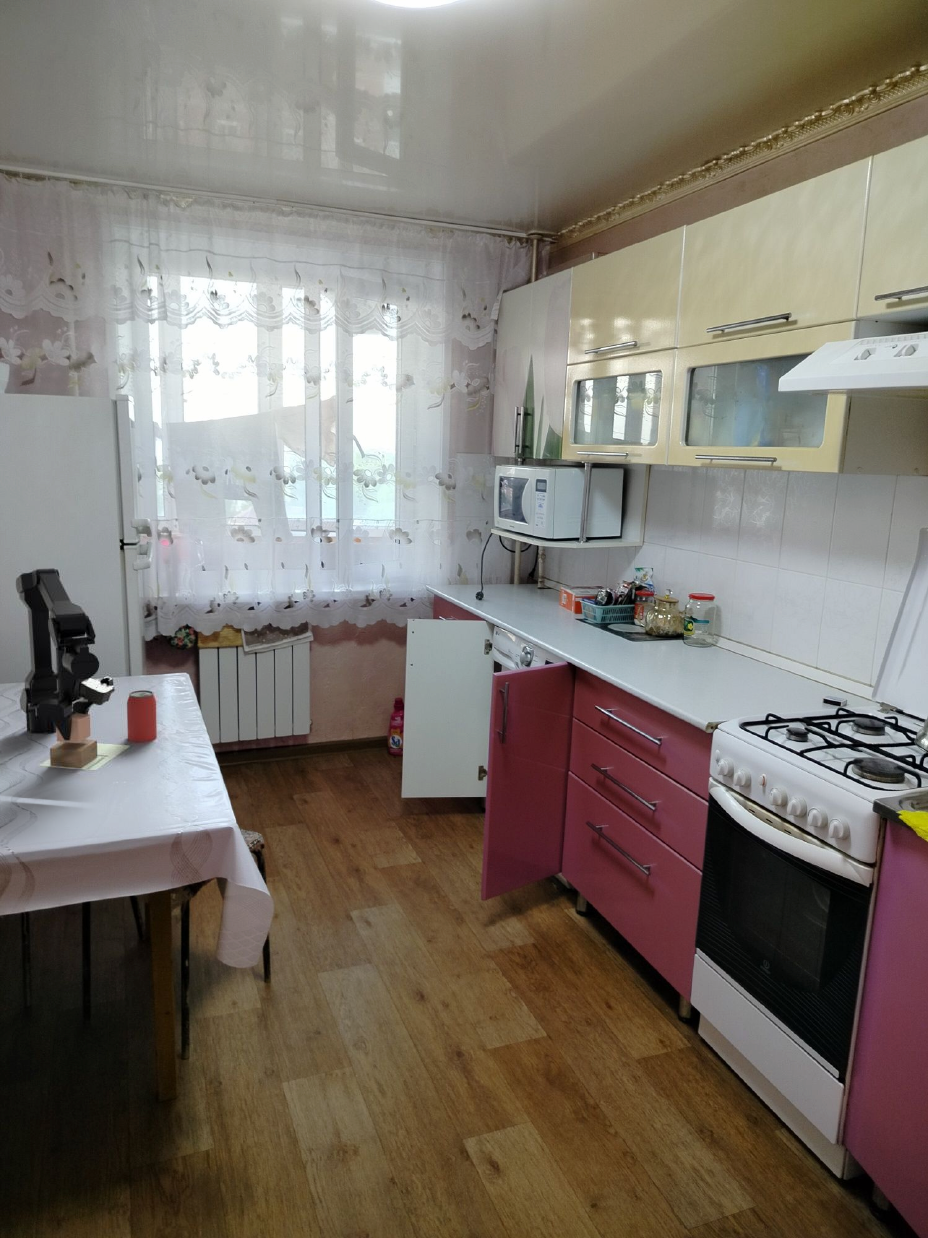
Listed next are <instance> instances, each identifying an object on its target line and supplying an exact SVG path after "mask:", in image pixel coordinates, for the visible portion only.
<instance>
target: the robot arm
mask: <svg viewBox="0 0 928 1238" xmlns="http://www.w3.org/2000/svg"><path fill="white" fill-rule="evenodd" d="M60 577H61V576H60V572H59V570H58V569H56V568H54V567H53V568H50V567H49V568H35V570H32V571H30V572H23V573H20V574H19V576H17V577H16V580H15V588H16V592H17V594H18V595H19V596H18V598H19V600H20V601H21V602H22V603H23V605H24V606H25V607H26V609H27V616H28V618H27V619H28V635H29V650H30V651H29V653H30V654H29V655H30V667H31V668H30V671H29V672H28V674H27V675H26V677H25V679H24V688H23V689H22V691H21V695H20V696H19V697H20V698H19V706H20V709H21V711H23V712H24V713H25V718H26V721H25V722H26V731H27V732H30V733H32V734H37V735H39V734H42V735H43V734H52V733H53V734H55V733H56V727H57V729H58V730H59V732H60V734H61V735H62V737H63V739H64V740H70V735H71V725H72V718H73V717H74V716H75V715H76V714H77V713H78V714H89V712H90V709H91V708H92V706H94V705H96V706H103V704H105V703H106V702H109V701H110V697H111V695H112V694H113V693H114V692H115V691H116V689H115V685H114V679H113V678H112V677H110V676H105V677H103V678H102V679H101V680H100V679H99V678H97V679H94V678H93V676H94V675H96V674H97V672H98V671H99V668H100V661H99V658H98V656H96V655H95V654H94V653H92V652H91V651H90V646H89V645H95V644H96V641H95V639H96V633H95V629H94V626H93V624H92V620H90V617H89V615H87V614H86V612H85V611H84V609H83V608H82V607H81V606H80V605H78V604H76V603H74V602H72V600H71V598H70V597H69V595H68V592H67V591H66V588H65V587H64V584H63V583H62V581H61V579H60ZM52 642H53V645H54V647H55V663H56V664H55V666H56V667H55V668H56V672H55V671H54V669H53V657H52Z"/></svg>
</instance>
